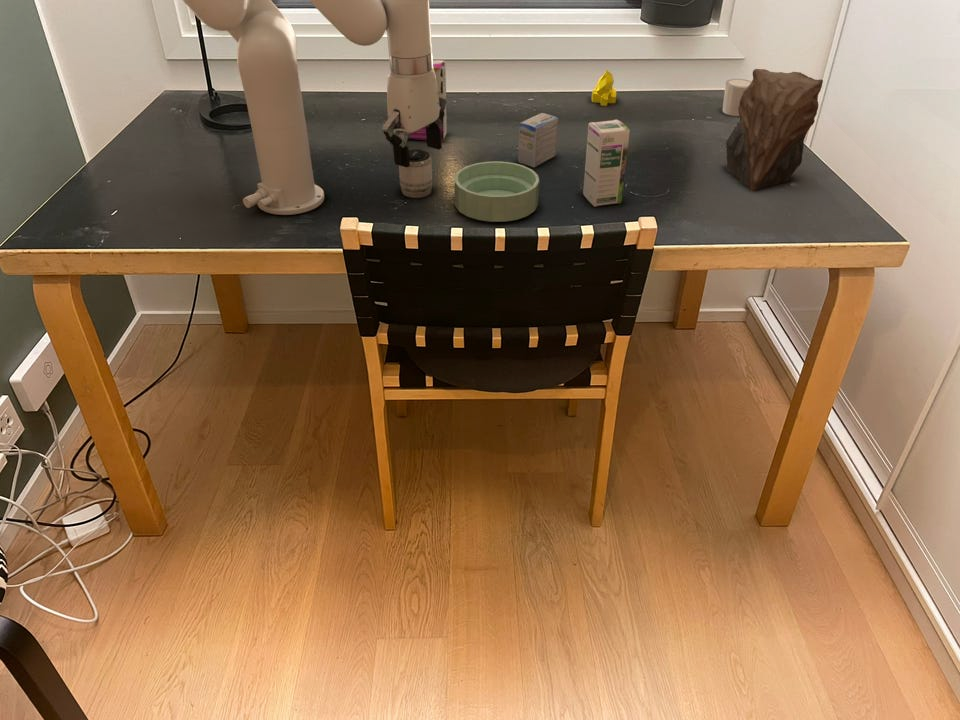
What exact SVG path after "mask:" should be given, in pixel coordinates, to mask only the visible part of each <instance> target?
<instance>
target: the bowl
mask: <svg viewBox="0 0 960 720" xmlns="http://www.w3.org/2000/svg"><path fill="white" fill-rule="evenodd" d="M453 178H454V179H453V180H454V183H453V184H454V207H455V208H456V209H457V211H458V212H460V213H461V214H462V215H464V216H466V217H468V218H471V219H475V220H477V221H482V222H491V223H495V222H496V223H497V222H498V223H499V222H500V223H501V222H512V221H517V220H520V219H523V218H527V217H528V216H530V215H532V213H534V212H535V211H536V210H537V208H538V207H539V197H540V196H539V195H540V178H539V174H537V173H536V172H535V170H534V169H532V168H531V167H530V168H529V166H528V167H527V165H524V164H520V163H515V162H509V161H499V160H497V161H483V162H477V163H473V164H468V165H466V166H464V167H462V168H460V169H459V170H458V171H457V172H456V173H455V174H454V177H453Z"/></svg>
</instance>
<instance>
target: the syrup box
mask: <svg viewBox="0 0 960 720" xmlns="http://www.w3.org/2000/svg"><path fill="white" fill-rule="evenodd" d="M630 134H631V133H630V128H629V127H628V126H627V125H626V124H624V123H623V122H622V121H621V120H618V119H612V120H605V121H604V120H603V121H595V122H594V121H592V122H588V126H587V140H586V151H585V165H584V175H583V176H584V178H583V189H582V190H583V191H582V195H583V196H584V198H585V199H586V200H587V201H588V203H590V204H591V205H592V207H594V208H595V207H596V208H597V207H600V206H607V205H615V204H621V203H622V201H623V191H624V185H625V184H624V183H625V175H626V167H627V159H628V158H627V157H628V148H629V140H630Z"/></svg>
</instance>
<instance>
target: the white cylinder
mask: <svg viewBox="0 0 960 720" xmlns="http://www.w3.org/2000/svg"><path fill="white" fill-rule="evenodd" d="M751 82H752V80H748V79H743V78H731V79H727V80H726V81H725V85H724V94H723V102H722V112H723V113H724V114H725V115H727V116H731V117H732V116H733V117H740V116H739V111H738V107H739V105H740V99H741V97H742V95H743V91H745V90H746V89H747V88H748V86H749V85H750V83H751Z"/></svg>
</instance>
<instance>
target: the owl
mask: <svg viewBox="0 0 960 720" xmlns="http://www.w3.org/2000/svg"><path fill="white" fill-rule="evenodd" d="M751 81H752V82H751V83H750V85H749V86H748V88H747V89H746V90H745V91H743V95H742V97H741V99H740V105H739V107H738V111H739V116H738V117H739V121H738V122H736V125H735V126H734V127H733V130H732V132H731V133H730V135H729V136H728V138H727V140H726V141H725V149H726V168H725V170H726V171H727V173H729V174H731V175H732V176H733V178H736V179H737V180H738V181H740V184H741V185H743V186H744V187H747V189H749V190H751V191H753V192H755V191H757V190H761V189H764V188H765V189H766V188H769V187H771V186H778V185H780V184H781V183H782V184H783V183H788V182H790V181H791V180H792V175H793V174H794V173H795V172H796V170H797V169H798V168H799V167H801V164H802V162H803V152H804V146H805V145H804V143H805V139H806V136H807V135H808V132H809V130H810V129H811V128H812V127H813V125H814V123H815V118H816V117H817V114H818V110H819V101H818V100H819V99H818V96H819V93H820V92H821V90H822V88H823V84H824V79H815V78H813V77H810V76H808V75H806V74H805V73H802V72H800V71H799V72H798V71H792V72H783V71H778V72H777V71H770V70H768V69H765V68H755V69H753V70H752V80H751Z"/></svg>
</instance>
